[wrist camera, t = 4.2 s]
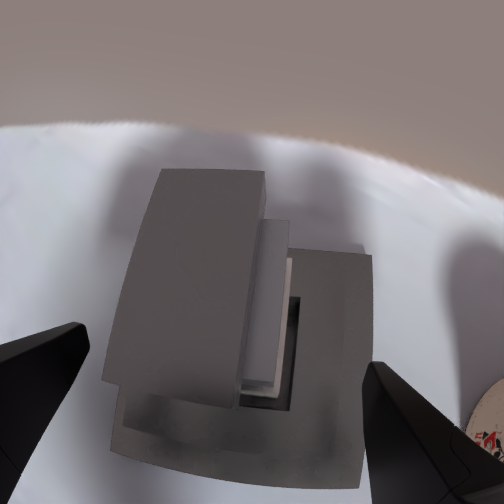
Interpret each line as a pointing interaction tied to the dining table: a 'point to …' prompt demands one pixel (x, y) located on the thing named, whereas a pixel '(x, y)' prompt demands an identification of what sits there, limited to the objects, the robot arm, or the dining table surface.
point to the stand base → (289, 398)
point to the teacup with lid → (489, 421)
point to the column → (204, 292)
